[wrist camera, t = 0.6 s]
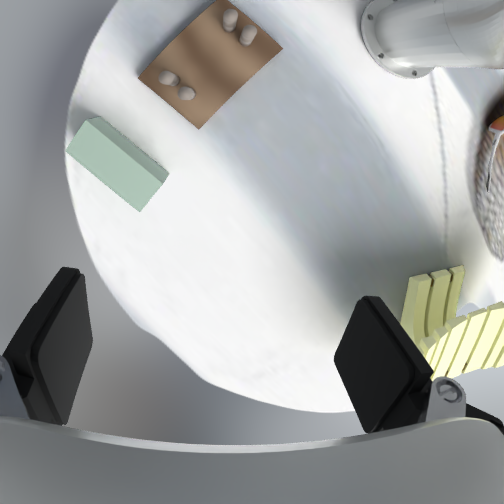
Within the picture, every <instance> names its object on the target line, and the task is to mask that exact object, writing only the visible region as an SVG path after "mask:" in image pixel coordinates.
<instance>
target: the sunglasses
mask: <svg viewBox="0 0 504 504" xmlns="http://www.w3.org/2000/svg"><path fill="white" fill-rule="evenodd" d="M489 131H491V132H494V133H496V134H495V137H494V140H493V143H492V153H491V158H490V162H489V168H488V180H487V192H488V193H489V187H490V180H491V170H492V162H493V157H494V154H495V150H496V147H497V144H498V142H499V139H500V136H501V135H502V134H503V133H504V115H502V116H501V117H499V118H497V119H496V120H495V121H494V122H493V123H491V124H490V126H489Z"/></svg>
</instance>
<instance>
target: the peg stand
mask: <svg viewBox="0 0 504 504" xmlns="http://www.w3.org/2000/svg"><path fill="white" fill-rule="evenodd" d="M282 49H283V48H282V47H281V46H280V45H279V44H278V43H277V42H276V41H275V40H273V39H272V38H271V37H270V36H269V35H268V34H267V33H266V32H265V31H263V30H262V29H261V28H260V27H259V26H258V25H257V24H255V23H254V22H253V21H252V20H251V19H250V18H248V17H247V16H246V15H245V14H244V13H242V12H241V11H240V10H239V9H238V8H236V7H235V6H234V5H233V4H231V3H230V2H229V1H228V0H216V1H215V2H214V3H213V4H211V5H210V6H209V7H208V8H207V9H206V10H205V11H203V12H202V13H201V14H200V15H199V16H198V17H197V18H196V19H194V20H193V21H192V22H191V23H190V24H189V25H188V26H187V27H186V28H185V29H184V30H183V31H182V32H181V33H180V34H179V35H178V36H177V37H176V38H175V39H174V40H173V41H172V42H171V43H170V44H169V45H168V46H167V47H166V48H165V49H164V50H163V51H162V52H161V53H160V54H159V55H158V56H157V57H156V58H155V59H154V60H153V61H152V62H151V64H150V65H149V66H148V67H147V68H146V69H145V70H144V71H143V72H142V74H141V75H140V76H139V77H138V79H139V80H140V81H142V82H143V83H144V84H145V85H147V86H148V87H149V88H150V89H151V90H153V91H154V92H155V93H156V94H157V95H159V96H160V97H161V98H162V99H164V100H165V101H166V102H167V103H168V104H169V105H171V106H172V107H173V108H174V109H175V110H177V111H178V112H179V113H180V114H181V115H182V116H184V117H185V118H186V119H187V120H188V121H189V122H191V123H192V124H193V125H194V126H195V127H196V128H198V129H200V128H201V127H202V126H203V125H204V124H205V123H206V122H207V121H208V119H209V118H210V117H211V116H212V115H213V114H214V113H215V112H216V111H217V110H218V109H219V108H220V107H221V106H222V105H223V104H224V103H225V102H226V101H227V100H228V99H229V98H230V97H231V96H232V95H233V94H234V93H235V92H236V91H237V90H238V89H239V88H240V87H241V86H243V85H244V84H245V83H246V82H247V81H248V80H249V79H250V78H251V77H252V76H253V75H254V74H255V73H256V72H257V71H259V70H260V69H261V68H262V67H263V66H264V65H265V64H266V63H267V62H269V61H270V60H271V59H272V58H273V57H274V56H275V55H276V54H278V53H279V52H280V51H281V50H282Z"/></svg>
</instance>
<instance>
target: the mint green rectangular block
mask: <svg viewBox="0 0 504 504" xmlns="http://www.w3.org/2000/svg"><path fill="white" fill-rule="evenodd" d="M66 152H67V153H68V154H69V155H71V156H72V157H73V158H74V159H75V160H76V161H78V162H79V163H80V164H81V165H82V166H84V167H85V168H86V169H87V170H88V171H90V172H91V173H92V174H93V175H94V176H96V177H97V178H98V179H99V180H100V181H102V182H103V183H104V184H105V185H107V186H108V187H109V188H110V189H111V190H113V191H114V192H115V193H116V194H118V195H119V196H120V197H121V198H122V199H124V200H125V201H126V202H127V203H129V204H130V205H131V206H132V207H134V208H135V209H136V210H137V211H139V212H140V211H141V210H142V209H143V208H144V206H145V205H146V204H147V203H148V201H149V200H150V199H151V198H152V197H153V195H154V194H155V193H156V192H157V191H158V189H159V188H160V187H161V186H162V185H163V183H164V182H165V180H166V178H167V177H168V175H169V173H168V172H167V171H166V170H165V169H163V168H162V167H161V166H160V165H159V164H157V163H156V162H155V161H154V160H153V159H151V158H150V157H149V156H148V155H147V154H145V153H144V152H143V151H142V150H141V149H139V148H138V147H137V146H136V145H135V144H133V143H132V142H131V141H130V140H128V139H127V138H126V137H125V136H124V135H122V134H121V133H120V132H119V131H118V130H116V129H115V128H114V127H113V126H112V125H110V124H109V123H108V122H107V121H105V120H104V119H103V118H102V117H101V116H100V117H96V118H91V119H87V120H85V122H84V123H83V124H82V126H81V127H80V129H79V130H78V132H77V133H76V135H75V136H74V138H73V140H72V141H71V143H70V144H69V146H68V147H67V149H66Z"/></svg>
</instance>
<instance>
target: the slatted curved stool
mask: <svg viewBox="0 0 504 504" xmlns="http://www.w3.org/2000/svg"><path fill="white" fill-rule="evenodd" d="M464 274H465V269H464V265H461V266H457V267H453V268H450V269H449V271H447V270H446V269H444V270H440V271H435V272H431V273H430V276H428V275H427V273H426V274H422V275H417V276H412V277H409V283H408V288H407V293H406V298H405V303H404V308H403V313H402V317H401V322H400V325H401V326H402V327H403V329H404V330H405V331H406V333H407V334H408V335H409V337H410V338H411V339H412V341H413V342H414V344H415V345H416V346H417V348H418V349H419V351H420V352H421V353H422V355H423V356H424V358H425V359H426V360H427V362H428V363H429V365H430V366H431V368H432V369H433V370H434V373H433V374H432V376H431V377H430V379H431V380H432V381H433V380H434V379H435V378H436V377H440V376H445V377H449V378H453V377H456V376H459V375H460V373H461V372H462V373H463V374H464V373H467V372H470V371H473V370H476V369H479V368H481V369H486V368H489V367H494V368H497V367H500V366H503V365H504V303H503V302H502V301H501V302H498V303H496V304H493V305H490V306H488V307H487V310H486V309H485V308H482V309H479V310H477V311H474V312H471V313H468V315H467V318H466V317H465V315H462V316H459V317H456V309H457V303H458V299H459V294H460V290H461V286H462V282H463V278H464Z"/></svg>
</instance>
